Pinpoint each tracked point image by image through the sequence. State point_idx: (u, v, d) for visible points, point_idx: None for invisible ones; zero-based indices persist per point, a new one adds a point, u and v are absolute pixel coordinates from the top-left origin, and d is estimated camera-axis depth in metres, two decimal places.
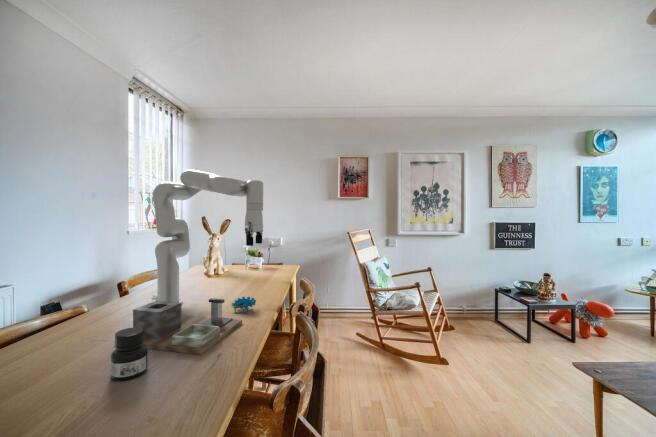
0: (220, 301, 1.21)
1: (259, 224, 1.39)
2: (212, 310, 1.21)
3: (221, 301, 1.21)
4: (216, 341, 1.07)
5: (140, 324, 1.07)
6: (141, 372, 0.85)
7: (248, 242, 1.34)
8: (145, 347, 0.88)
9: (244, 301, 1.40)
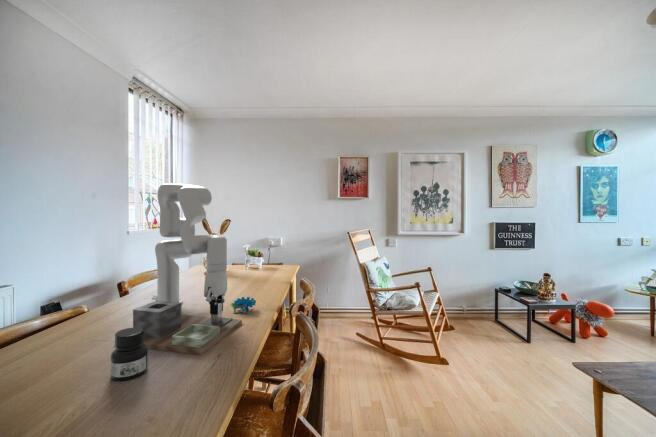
0: (220, 301, 1.21)
1: (222, 286, 1.21)
2: None
3: (221, 301, 1.21)
4: (216, 341, 1.07)
5: (140, 324, 1.07)
6: (141, 372, 0.85)
7: (212, 311, 1.19)
8: (145, 347, 0.88)
9: (244, 301, 1.39)
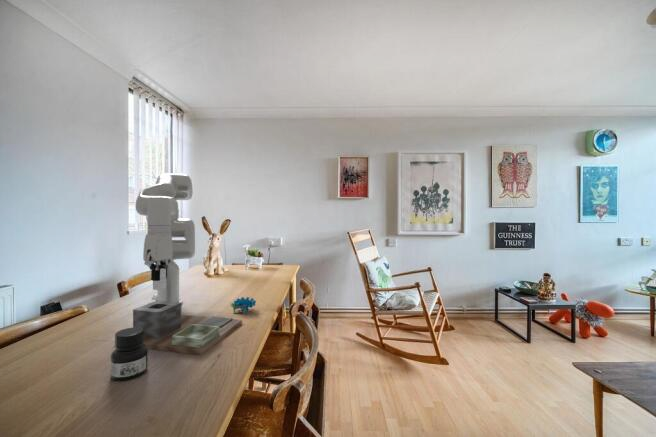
0: (163, 266, 1.11)
1: (165, 251, 1.11)
2: None
3: (164, 266, 1.11)
4: (216, 341, 1.07)
5: (140, 324, 1.07)
6: (141, 372, 0.85)
7: (153, 276, 1.09)
8: (145, 347, 0.88)
9: (243, 301, 1.39)
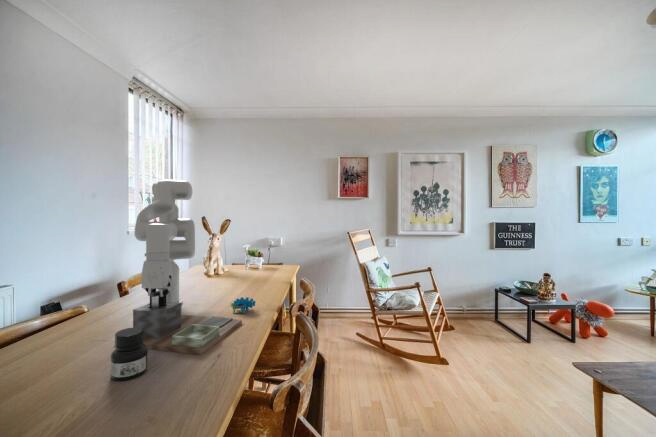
0: None
1: None
2: None
3: None
4: (216, 341, 1.07)
5: (140, 324, 1.07)
6: (141, 372, 0.85)
7: (164, 302, 1.11)
8: (145, 347, 0.88)
9: (243, 302, 1.39)
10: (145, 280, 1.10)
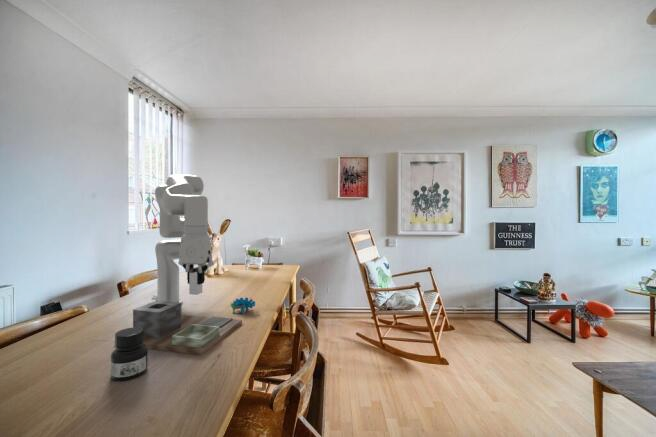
0: None
1: None
2: None
3: None
4: (216, 341, 1.07)
5: (140, 324, 1.07)
6: (141, 372, 0.85)
7: (203, 279, 1.05)
8: (145, 347, 0.88)
9: (242, 302, 1.38)
10: (183, 255, 1.03)
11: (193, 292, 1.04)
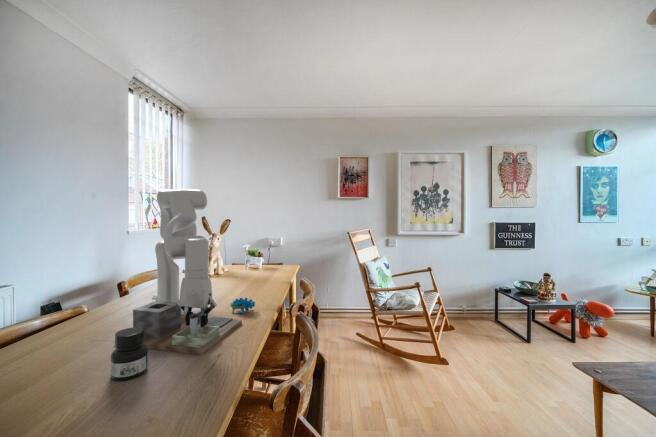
0: None
1: None
2: (199, 325, 1.05)
3: None
4: (216, 341, 1.07)
5: (140, 324, 1.07)
6: (141, 372, 0.85)
7: (206, 321, 1.05)
8: (145, 347, 0.88)
9: (242, 302, 1.38)
10: (184, 299, 1.04)
11: (194, 337, 1.05)
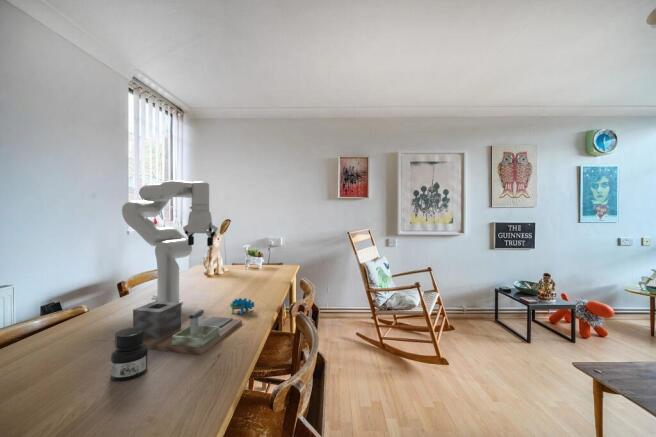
0: (202, 311, 1.08)
1: None
2: (198, 325, 1.05)
3: (202, 311, 1.08)
4: (216, 341, 1.07)
5: (140, 324, 1.07)
6: (141, 372, 0.85)
7: (211, 242, 1.39)
8: (145, 347, 0.88)
9: (241, 302, 1.38)
10: (191, 226, 1.38)
11: (194, 337, 1.05)
